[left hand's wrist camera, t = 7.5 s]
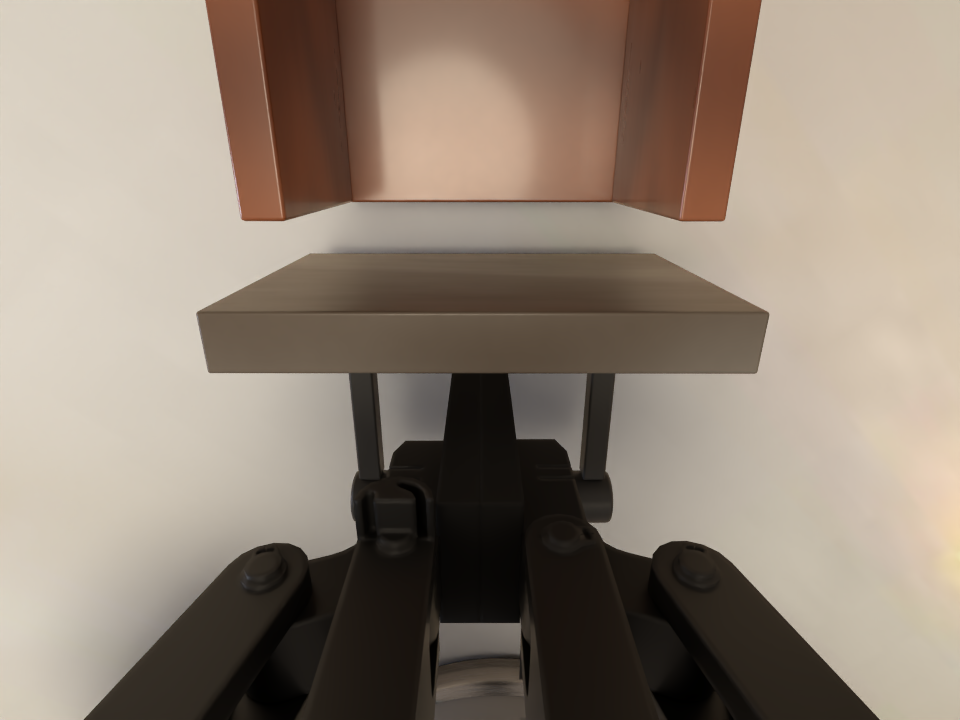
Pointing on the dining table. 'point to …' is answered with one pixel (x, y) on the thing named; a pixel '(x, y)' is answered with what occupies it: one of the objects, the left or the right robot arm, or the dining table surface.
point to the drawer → (483, 190)
